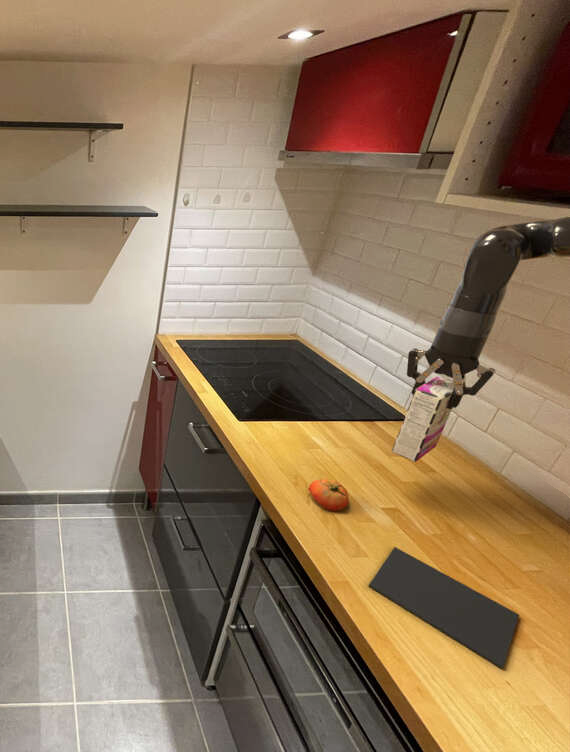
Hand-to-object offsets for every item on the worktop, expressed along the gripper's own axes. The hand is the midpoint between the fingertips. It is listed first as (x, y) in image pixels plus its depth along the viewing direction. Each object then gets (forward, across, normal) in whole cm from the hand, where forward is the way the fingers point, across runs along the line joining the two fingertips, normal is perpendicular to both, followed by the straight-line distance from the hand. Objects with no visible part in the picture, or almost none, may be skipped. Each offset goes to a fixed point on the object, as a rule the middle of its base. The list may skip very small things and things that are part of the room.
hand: (432, 402), depth 96 cm
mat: (+24, -15, +29) cm, 40 cm away
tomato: (+24, +8, +18) cm, 31 cm away
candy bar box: (+13, 0, 0) cm, 13 cm away
